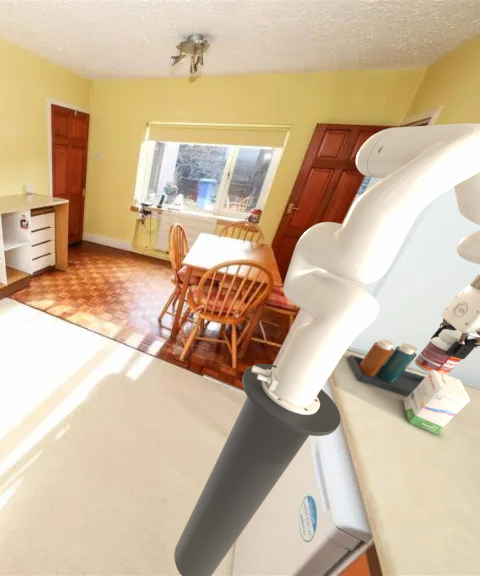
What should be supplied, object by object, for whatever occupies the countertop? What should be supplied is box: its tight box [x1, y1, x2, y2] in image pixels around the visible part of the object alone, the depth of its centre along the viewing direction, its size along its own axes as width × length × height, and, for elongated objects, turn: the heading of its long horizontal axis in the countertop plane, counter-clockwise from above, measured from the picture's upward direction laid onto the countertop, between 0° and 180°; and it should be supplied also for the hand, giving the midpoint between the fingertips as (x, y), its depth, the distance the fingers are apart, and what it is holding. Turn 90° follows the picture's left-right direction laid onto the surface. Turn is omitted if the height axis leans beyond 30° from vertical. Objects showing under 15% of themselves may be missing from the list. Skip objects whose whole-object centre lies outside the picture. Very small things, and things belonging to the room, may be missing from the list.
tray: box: [347, 354, 426, 397], centre depth 77 cm, size 19×11×2 cm, turn 62°
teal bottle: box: [377, 342, 418, 383], centre depth 76 cm, size 4×4×12 cm
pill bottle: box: [413, 329, 472, 375], centre depth 70 cm, size 6×6×11 cm
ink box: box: [403, 370, 471, 435], centre depth 64 cm, size 8×5×12 cm, turn 139°
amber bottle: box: [359, 338, 395, 376], centre depth 77 cm, size 4×4×11 cm
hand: (446, 348), depth 70 cm, fingers closed on pill bottle, 6 cm apart
